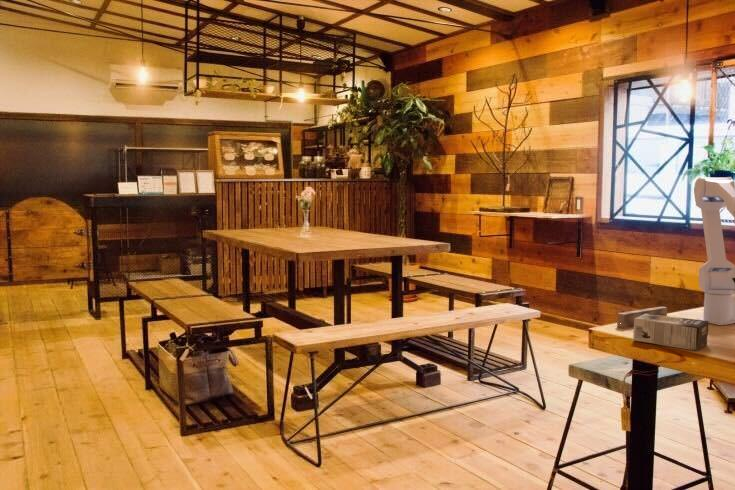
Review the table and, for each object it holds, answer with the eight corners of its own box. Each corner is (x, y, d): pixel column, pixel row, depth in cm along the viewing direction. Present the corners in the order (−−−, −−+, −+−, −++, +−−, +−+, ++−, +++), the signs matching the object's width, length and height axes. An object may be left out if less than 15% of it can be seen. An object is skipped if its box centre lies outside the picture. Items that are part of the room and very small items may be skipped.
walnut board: (660, 319, 204) (661, 306, 204) (666, 320, 202) (667, 307, 202) (617, 326, 194) (617, 313, 194) (622, 328, 192) (623, 314, 192)
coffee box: (645, 312, 183) (709, 320, 173) (644, 335, 184) (707, 344, 173) (633, 317, 176) (700, 326, 166) (632, 341, 177) (698, 351, 167)
